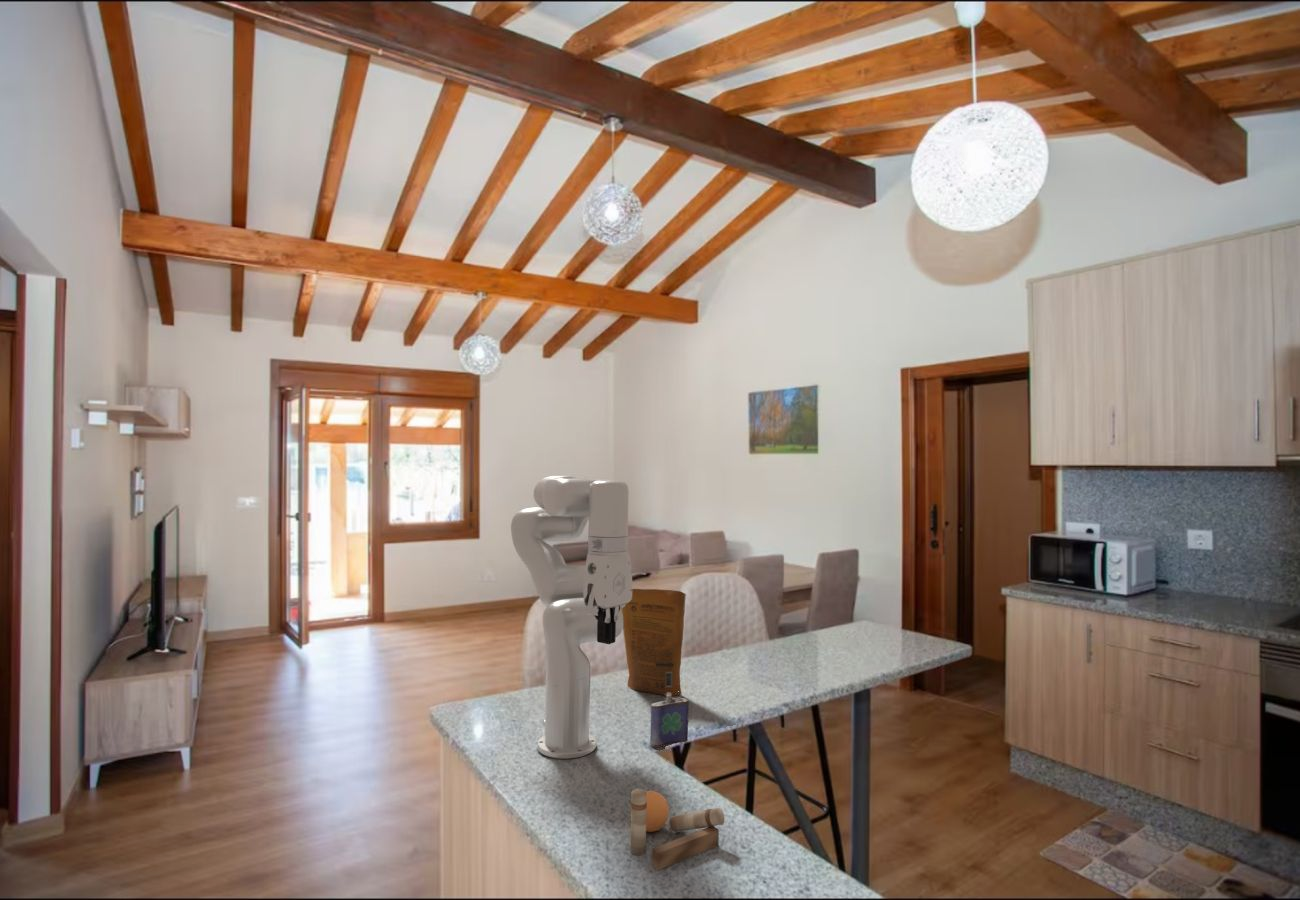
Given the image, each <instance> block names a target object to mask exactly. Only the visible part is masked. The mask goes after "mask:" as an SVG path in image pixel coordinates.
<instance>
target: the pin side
mask: <svg viewBox="0 0 1300 900" xmlns="http://www.w3.org/2000/svg"><path fill="white" fill-rule="evenodd" d="M646 791H647V790H646V789H643V788H635V789H633V790H631V796H630V797H631V799H630V847H629V848H630V853H631V854H633V855H635V856H641V855H644V854H645V853H646V850H647V847H646V846H647V831H646V808H647V792H646Z"/></svg>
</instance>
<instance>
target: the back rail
mask: <svg viewBox="0 0 1300 900" xmlns="http://www.w3.org/2000/svg"><path fill="white" fill-rule="evenodd" d="M719 831H720V830H719V828H717V826H713V827H705V828H701V829H700V830H699V829H698V830H697V831H695V832H692V833H690V834H687V835H683V836H682V837H679V838H676V839H674V840H671V841H668V842H666V843H663V844H661V845H658V846H656V847H653V848H652V849H651V850H652V851H651V866H652V867H653V868H654V869H655V870H657V871H659V870H662V869H664V868H667V867H669V866H673V865H675V864H677V863H679V862H682V861H685V860H687V859H690V858H691V857H694V856H696V855H698V854H701V853H703V852H706V851H708V850H710V849H713V848H715V847H718V846H719V837H720V836H719V835H720V834H719V833H720V832H719Z"/></svg>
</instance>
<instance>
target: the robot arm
mask: <svg viewBox="0 0 1300 900" xmlns="http://www.w3.org/2000/svg"><path fill="white" fill-rule="evenodd" d="M629 492H630V491H629V486H628V484H627V483H626V482H624V481H621V480H613V479H610V478H609V479H608V478H607V479H605V478H589V477H586V476H577V475H576V476H572V475H551V476H547V477H543V478H542V479H541V480H539V481H538V482H537V483H536V485H535V487H534V489H533V499H534V501H535V503H536V505H537V506H538V507H537V506H536V507H528V508H524V509H522V510H520V511H518V512H517V513H515V514H514V515H513V516H512V519H511V524H510V531H511V532H510V533H511V538H512V544H513V547H514V549H515V551H516V553H517V555H518V557H519V559H521V561H522V562H523V563H524V565H525V567H526V568H527V570H528V571H529V574H530V576H531V579H532V582H533V585H534V587H535V590H536V593H537V595H538V597H539V599H540V601H541V604H542V605H544V606H545V609H544V611H543V614H542V626H543V632H544V633H543V634H544V641H545V658H546V661H545V663H546V665H545V666H546V667H545V706H544V707H545V708H544V709H545V710H544V712H545V713H544V714H545V715H544V717H545V718H544V720H543V721H542V723H541V725H542V726H543V727H544V735H543V736H542V737H540V738H539V739H538V741H537V743H536V745H537V746H536V748H537V750H538V752H539V753H540V754H542V755H544V756H546V757H549V758H554V759H562V760H563V759H564V760H565V759H574V758H575V759H576V758H581V757H584V756H587V755H589V754H591V753H592V752H593V751H594V750H596V747H597V739H596V737H595V736H593V735H592V734H591V733H590V721H591V720H590V717H591V716H590V712H591V711H590V709H591V662H590V659H589V657H588V656H587V655H586V653H585V652H584V651H583V650H582V648H581V647H580V645H581V644H587V643H592V642H593V643H594V642H597V643H601V644H606V645H612V644H615V643H616V638H617V637H619V636H620V634H621V633H622V632H623V631H622V630H623V614H622V610H621V609H622V608H623V607H625V605H626V604H627V603H629V602H630V601H631V600H632V589H633V573H632V561H631V556H630V552H629V551H628V545H629V544H628V543H629V542H628V541H629V540H628V538H629V537H628V535H629ZM587 523H588V531H587V532H588V541H587V542H588V543H587V549H588V550H587V551H588V552H587V555H586V561H585V565H568V564H567V563H566V561H565V559H564V557H563V555H562V554H561V552H560V551H558V550H557V549H556V548H555V547H554V546H553V545H551V544H549V543H548V542H569V541H571V542H572V541H575V540H577V539H579V538H580V537H581V536H582V534H583V533H584V532H585V531H584V530H585V528H586V526H587Z"/></svg>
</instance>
